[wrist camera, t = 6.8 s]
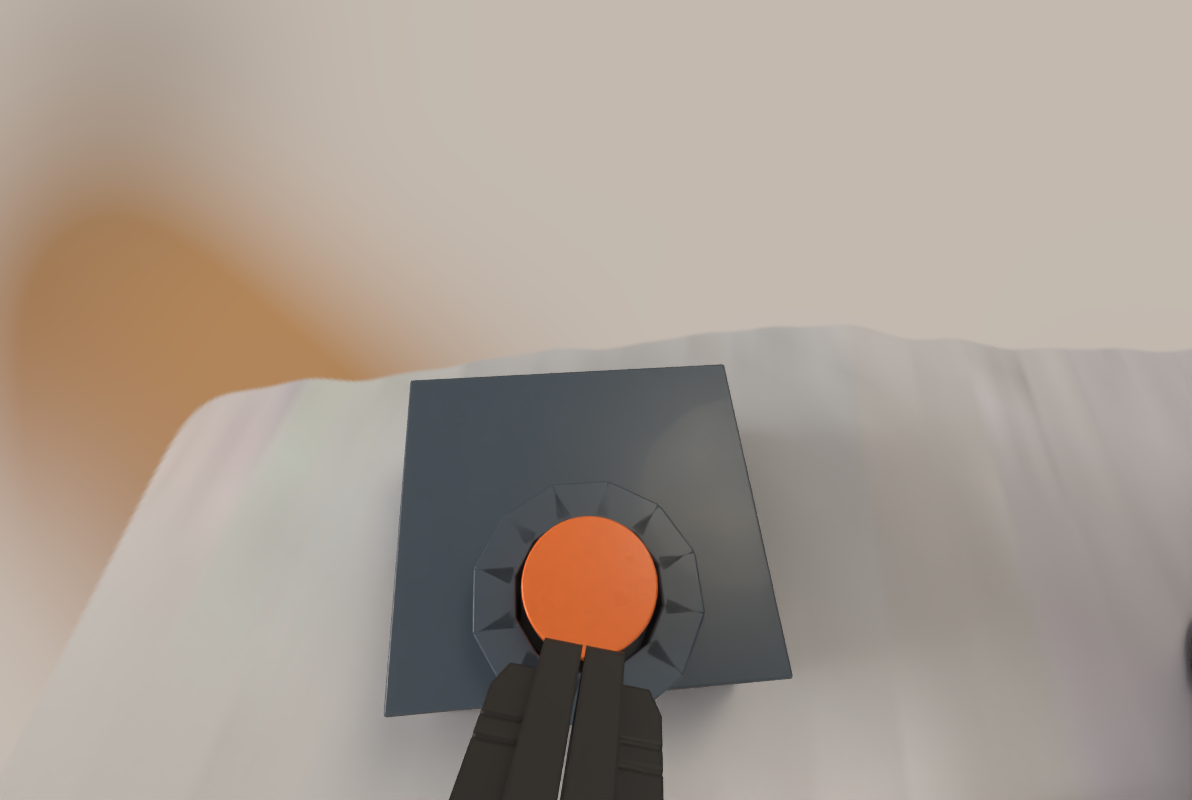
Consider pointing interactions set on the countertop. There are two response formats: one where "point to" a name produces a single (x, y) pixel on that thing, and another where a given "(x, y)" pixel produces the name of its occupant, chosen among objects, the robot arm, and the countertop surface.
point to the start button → (590, 584)
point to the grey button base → (564, 491)
